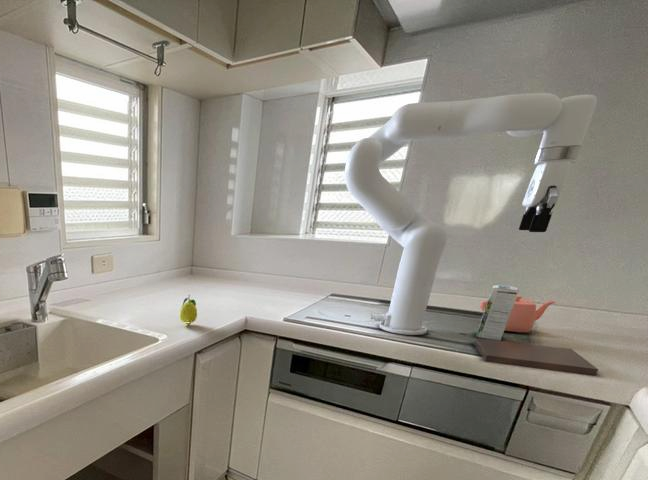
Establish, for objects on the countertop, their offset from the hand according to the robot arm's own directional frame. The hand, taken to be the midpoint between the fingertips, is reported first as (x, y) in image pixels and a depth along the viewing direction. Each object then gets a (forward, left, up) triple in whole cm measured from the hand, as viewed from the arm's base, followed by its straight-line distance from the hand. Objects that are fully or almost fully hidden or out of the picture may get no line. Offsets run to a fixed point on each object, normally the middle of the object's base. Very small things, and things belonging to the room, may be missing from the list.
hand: (531, 231), depth 104 cm
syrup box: (-1, +1, -30) cm, 30 cm away
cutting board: (+4, -16, -29) cm, 34 cm away
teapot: (+6, +14, -30) cm, 33 cm away
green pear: (-84, -28, -30) cm, 93 cm away
